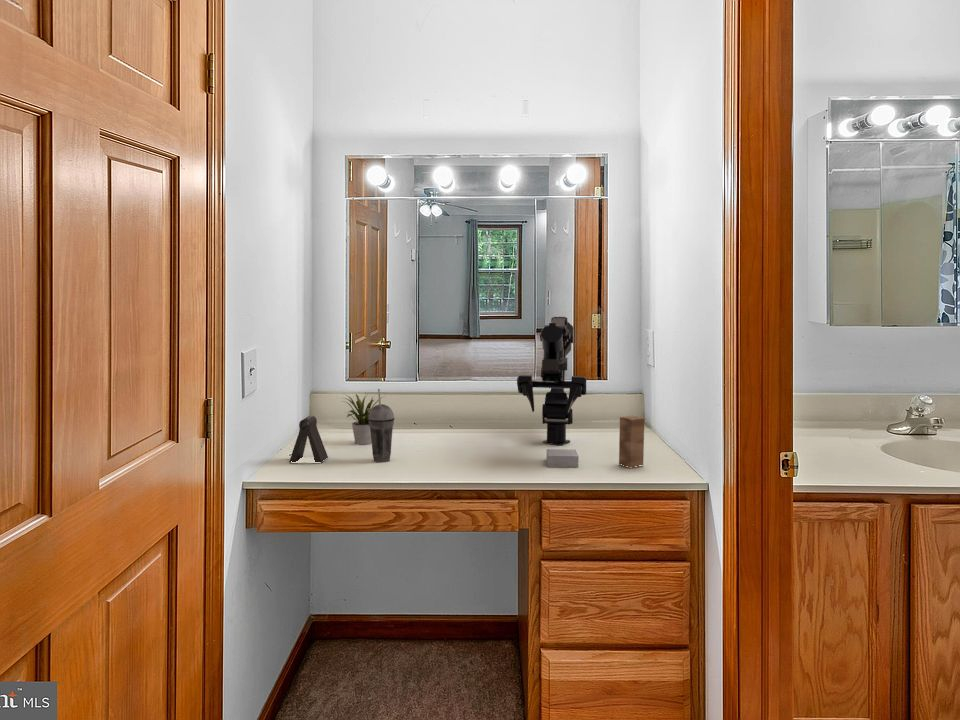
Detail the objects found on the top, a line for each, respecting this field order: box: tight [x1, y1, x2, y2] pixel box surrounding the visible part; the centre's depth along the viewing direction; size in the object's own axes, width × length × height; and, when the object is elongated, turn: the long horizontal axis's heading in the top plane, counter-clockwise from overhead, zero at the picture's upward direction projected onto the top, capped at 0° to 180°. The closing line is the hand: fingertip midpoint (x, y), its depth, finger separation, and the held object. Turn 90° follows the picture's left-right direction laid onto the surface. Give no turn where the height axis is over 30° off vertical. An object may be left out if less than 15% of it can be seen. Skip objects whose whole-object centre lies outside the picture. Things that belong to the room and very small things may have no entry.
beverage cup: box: [368, 388, 396, 463], centre depth 186 cm, size 7×7×20 cm
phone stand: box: [288, 415, 329, 463], centre depth 186 cm, size 9×6×12 cm, turn 86°
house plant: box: [341, 391, 386, 446], centre depth 208 cm, size 14×14×16 cm
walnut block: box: [618, 415, 645, 468], centre depth 181 cm, size 4×4×13 cm
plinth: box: [545, 448, 580, 468], centre depth 183 cm, size 8×8×3 cm
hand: (550, 411), depth 181 cm, fingers open, 9 cm apart
